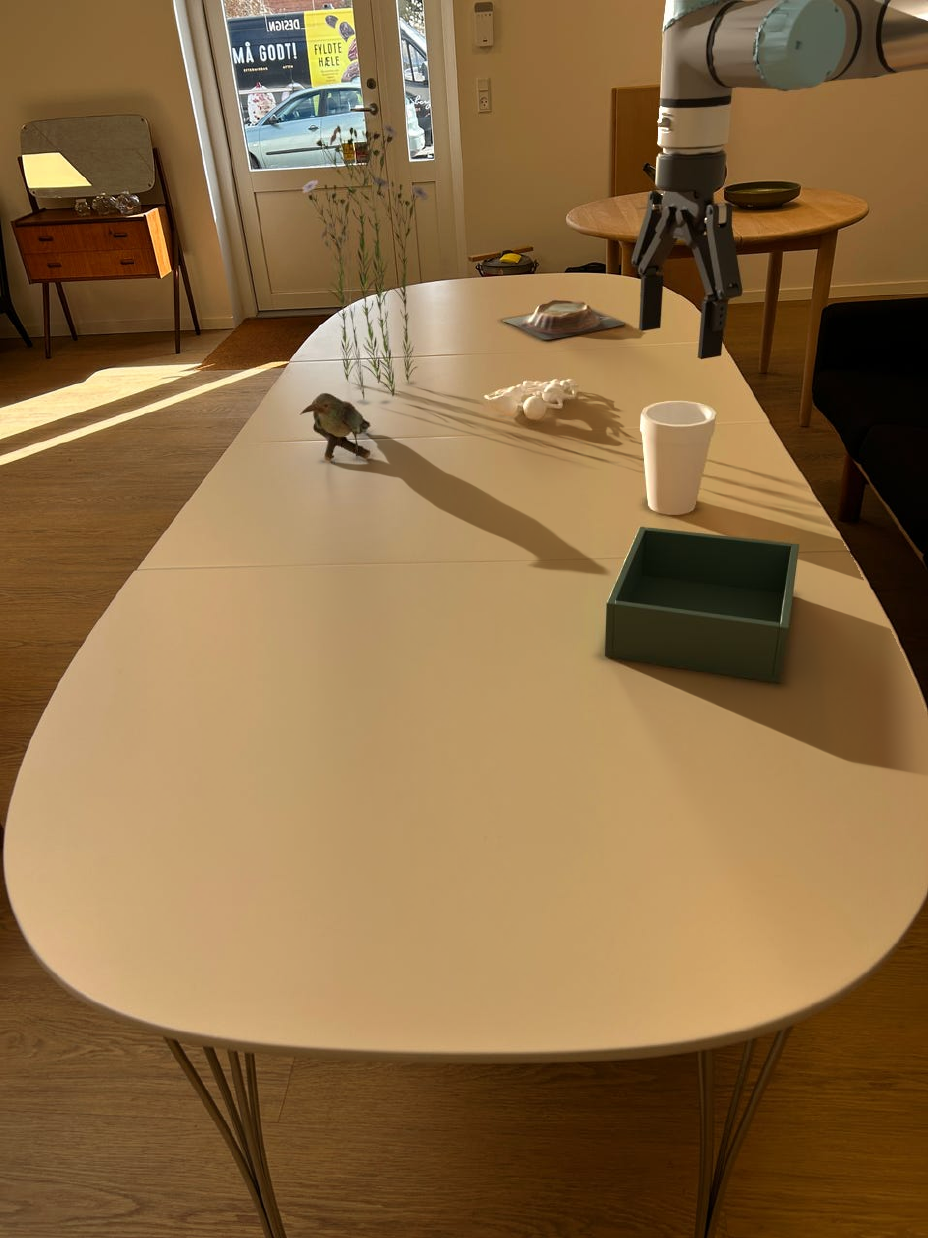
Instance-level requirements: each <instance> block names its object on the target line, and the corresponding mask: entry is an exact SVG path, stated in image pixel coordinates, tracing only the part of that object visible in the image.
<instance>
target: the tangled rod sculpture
mask: <svg viewBox="0 0 928 1238" xmlns="http://www.w3.org/2000/svg"><path fill="white" fill-rule="evenodd" d="M579 387H580V385H579V384H578V383H577V382H576V381H575V380H574V379H572V378H568V379H566V380H559V379H557V378H555V379H553V380H550V381H544V382H542V381H541V380H536V381H531V380H525V381H523V384H522V383H519V384H517V385H513V386H510V387H505V388H500V389H498V390H496V391H493V392H490V393H488V394H485V395H484V399H486V400H487V407H488V408H490V409H491V410H493V411H495V412H498V413H500V414H501V415H504V416H512V415H514V414H516V412H517V410H518V408H519V407H520V408H522V409H523V413H524V415H525V417H526V418H528V419H529V420H534V421H535V420H538V419H541V418H542V417H544V415H545V413H546V411H547V408H549V409H555V410H561V409H562V408H563V406H564V404H563V401H565V400H574V399H575V398H576V397H577V389H576V388H579ZM567 390H570V391H571V394H565V391H567ZM527 395H532V396H530V397H528V398H527V399H526V400H525V401H523V399H524V396H527ZM540 395H542V396H541V397H540ZM492 396H493V397H492Z"/></svg>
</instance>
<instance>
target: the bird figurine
mask: <svg viewBox="0 0 928 1238" xmlns="http://www.w3.org/2000/svg"><path fill="white" fill-rule="evenodd" d="M307 413H312V416H313V420H314V423H313V426H312V429H313V431H314V432H315V433H317V434H319V435H321V436H322V437H323V438H324V439H325V440H326V442H327V444H326V447H325V451H324V457H323V458H324V460H325V461H328V462H330V461H332V460H333V459H335V455H334V451H335V449H336V447H339V448H341V449H344V450H346V451H348V452H350V453H352V454H353V455H355V456H356V458H357V459H358V458H359V457H360V458H363V459H365V460H367V459H369V457H370V455H371V451H370V450H369V449H367V448H365V447H364V446H363V445H359V443H358V438H357V437H358V436H357V435H361V434H362V433H363V434H364V433H367V430H369V428H370V427H371V426H372V425H371V422H369V421H368V420H366V419H365V418H364V416H363V415H362V413H361V412H359V411H358V409H356V407H355V405H353V404H352V403H351V402H350V401H347V400H341V399H340V398H339V397H336V396H335V395H333V394H331V393H327V392H322V393H320V394H319V395H317V396H316V397H315V398H314V399H313V401H312V402H311V404H309V405H308V406H307V407H306V408H304V409H303V410H302V411H301V413H300V414H299V415H303V414H307ZM350 434H352V435H353V437H354V441H355V442H353V441H351V440H349V439H348V438H347V436H349V435H350Z"/></svg>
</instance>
